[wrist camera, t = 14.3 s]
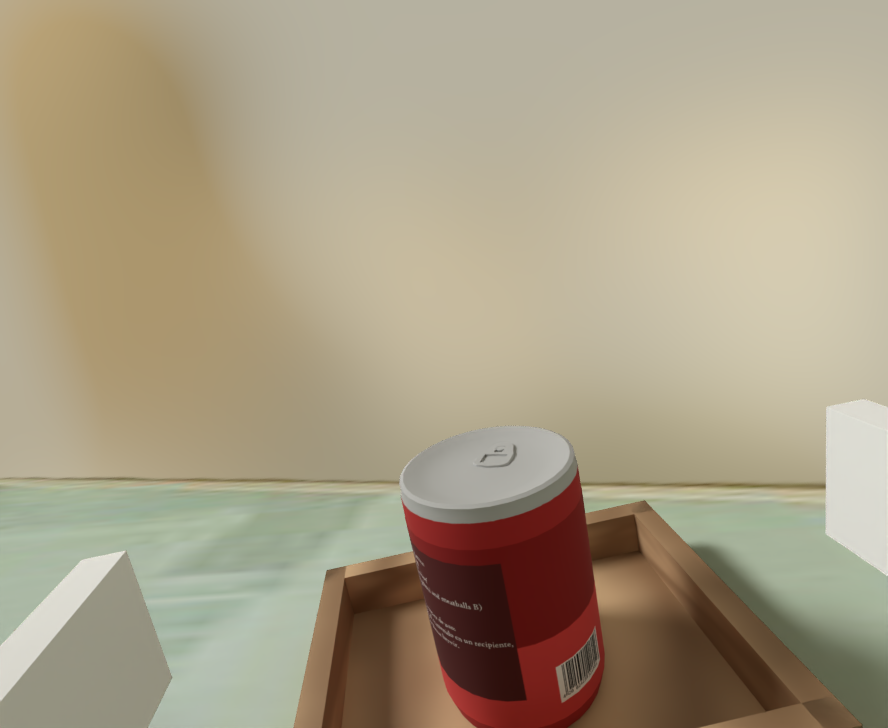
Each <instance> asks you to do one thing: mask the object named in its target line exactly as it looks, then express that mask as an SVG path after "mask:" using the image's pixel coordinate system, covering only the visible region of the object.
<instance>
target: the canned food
mask: <svg viewBox="0 0 888 728" xmlns="http://www.w3.org/2000/svg"><path fill="white" fill-rule="evenodd" d="M400 489H401V500H402V504H403V508H404V513H405V519H406V523H407V528H408V532H409V536H410V540H411V544H412V549H413V553H414V557H415V561H416V566H417V570H418V574H419V578H420V582H421V587H422V591H423V595H424V599H425V603H426V608H427V612H428V616H429V620H430V624H431V629H432V633H433V637H434V641H435V646H436V650H437V654H438V658H439V662H440V667H441V671H442V675H443V679H444V682H445V685H446V689H447V692H448V693H449V695H450V697H451V698H452V700H453V701H454V703H455V705H456V706H457V708H458V709H459V711H460V712H461V713H462V715H463V716H464V717H465V718H466V719H467V720H468V721H469V722H470V723H471V724H472V725H473V726H475V727H477V728H568V727H569V726H570V725H572V724H573V723H574V722H576V721H577V720H579V719H580V718H581V717H582V716H583V714H584V713H585V712H586V711H587V710H588V709H589V708H590V706H591V705H592V703H593V701H594V699H595V698H596V696H597V694H598V690H599V687H600V684H601V680H602V675H603V671H604V662H605V652H604V645H603V637H602V630H601V623H600V616H599V609H598V602H597V595H596V587H595V580H594V573H593V566H592V559H591V552H590V545H589V537H588V530H587V523H586V516H585V509H584V502H583V495H582V488H581V484H580V477H579V471H578V465H577V460H576V457H575V454H574V450H573V446H572V445H571V443H569V441H568V440H567V439H566V438H564V437H563V436H561V435H560V434H557V433H555V432H553V431H550V430H546V429H542V428H537V427H527V426H500V427H491V428H484V429H479V430H474V431H470V432H466V433H463V434H459V435H456V436H453V437H450V438H448V439H446V440H443V441H441V442H439V443H437V444H435V445H433V446H430V447H429V448H427V449H426V450H424V451H422V452H421V453H419V454H418V455H417V456H415V457H414V458H413V459H412V460H411V461H410V462H409V463H408V464H407V465H406V466H405V468H404V469H403V471H402V473H401V476H400Z"/></svg>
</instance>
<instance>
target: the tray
mask: <svg viewBox="0 0 888 728" xmlns="http://www.w3.org/2000/svg"><path fill="white" fill-rule="evenodd" d="M585 516H586V523H587V530H588V537H589V545H590V552H591V559H592V566H593V573H594V580H595V587H596V595H597V602H598V609H599V616H600V623H601V630H602V637H603V645H604V652H605V662H604V671H603V675H602V680H601V684H600V687H599V690H598V694H597V696H596V698H595V699H594V701H593V703H592V705H591V706H590V708H589V709H588V710H587V711H586V712H585V713H584V714H583V716H582V717H581V718H580V719H579V720H577V721H576V722H574V723H573V724H572V725H570V726H569V727H568V728H862V724H861V723H860V722H859V721H858V720H857V719H856V718H855V717H854V716H853V715H852V714H851V713H850V712H849V711H848V710H847V709H846V708H845V707H844V706H843V705H842V703H841V702H840V701H839V700H838V699H837V698H836V697H835V696H834V695H833V694H832V693H831V692H830V691H829V690H828V689H827V688H826V687H825V686H824V685H823V684H822V683H821V682H820V681H819V680H818V679H817V678H816V677H815V676H814V675H813V674H812V673H811V672H810V670H809V669H808V668H807V667H806V666H805V665H804V664H803V663H802V662H801V661H800V660H799V659H798V658H797V657H796V656H795V655H794V654H793V653H792V652H791V651H790V650H789V649H788V648H787V647H786V646H785V645H784V644H783V643H782V642H781V641H780V640H779V639H778V637H777V636H776V635H775V634H774V633H773V632H772V631H771V630H770V629H769V628H768V627H767V626H766V625H765V624H764V623H763V622H762V621H761V620H760V619H759V618H758V617H757V616H756V615H755V614H754V613H753V612H752V611H751V610H750V609H749V608H748V607H747V606H746V604H745V603H744V602H743V601H742V600H741V599H740V598H739V597H738V596H737V595H736V594H735V593H734V592H733V591H732V590H731V589H730V588H729V587H728V586H727V585H726V584H725V583H724V582H723V581H722V580H721V579H720V578H719V577H718V576H717V575H716V574H715V573H714V572H713V570H712V569H711V568H710V567H709V566H708V565H707V564H706V563H705V562H704V561H703V560H702V559H701V558H700V557H699V556H698V555H697V554H696V553H695V552H694V551H693V550H692V549H691V548H690V547H689V546H688V545H687V544H686V543H685V542H684V541H683V540H682V539H681V537H680V536H679V535H678V534H677V533H676V532H675V531H674V530H673V529H672V528H671V527H670V526H669V525H668V524H667V523H666V522H665V521H664V520H663V519H662V518H661V517H660V516H659V515H658V514H657V513H656V512H655V511H654V510H653V509H652V508H651V507H650V506H649V504H648V503H647V502H646V501H645V500H644V501H640V502H635V503H631V504H626V505H622V506H617V507H613V508H608V509H603V510H599V511H594V512H590V513H585ZM294 728H477V727H475V726H473V725H472V724H471V723H470V722H469V721H468V720H467V719H466V718H465V717H464V716H463V715H462V713H461V712H460V711H459V709H458V708H457V706H456V705H455V703H454V701H453V700H452V698H451V697H450V695H449V693H448V692H447V689H446V685H445V682H444V679H443V675H442V671H441V667H440V662H439V658H438V654H437V650H436V646H435V641H434V637H433V633H432V629H431V624H430V620H429V616H428V612H427V608H426V603H425V599H424V595H423V591H422V587H421V582H420V578H419V574H418V570H417V566H416V561H415V557H414V553H413V551H412V552H408V553H403V554H399V555H394V556H390V557H385V558H381V559H376V560H371V561H367V562H362V563H358V564H353V565H349V566H344V567H340V568H335V569H331V570H327V572H326V576H325V581H324V586H323V590H322V595H321V600H320V605H319V609H318V614H317V619H316V624H315V628H314V633H313V638H312V643H311V647H310V652H309V657H308V662H307V666H306V671H305V676H304V680H303V685H302V690H301V695H300V699H299V704H298V709H297V714H296V718H295V723H294Z"/></svg>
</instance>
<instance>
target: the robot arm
mask: <svg viewBox="0 0 888 728" xmlns="http://www.w3.org/2000/svg"><path fill="white" fill-rule="evenodd" d="M826 409H827V410H826V419H827V420H826V421H827V422H826V534H827V535H828V536H829V537H831V538H832V539H834V540H835V541H837V542H838V543H840V544H841V545H843V546H844V547H846V548H847V549H849V550H850V551H852V552H853V553H854V554H856V555H857V556H859V557H860V558H862V559H863V560H865V561H866V562H868V563H869V564H871V565H872V566H874V567H875V568H877V569H878V570H879V571H881V572H882V573H884V574H885V575H887V576H888V407H886V406H883V405H880V404H877V403H874V402H871V401H868V400H866V399H862V400H857V401H852V402H847V403H843V404H838V405H833V406H828V407H827V408H826ZM171 679H172V676H171V673H170V670H169V667H168V665H167V662H166V659H165V656H164V653H163V651H162V648H161V645H160V642H159V640H158V637H157V634H156V631H155V629H154V626H153V623H152V620H151V617H150V615H149V612H148V609H147V606H146V604H145V601H144V598H143V595H142V593H141V590H140V587H139V584H138V582H137V579H136V576H135V573H134V570H133V568H132V565H131V562H130V559H129V557H128V554H127V551H122V552H117V553H112V554H107V555H102V556H97V557H92V558H88V559H83V560H81V561H80V562H79V563H78V564H77V565H76V566H75V568H74V569H73V570H72V571H71V572H70V573H69V574H68V575H67V576H66V577H65V578H64V579H63V580H62V581H61V582H60V583H59V584H58V586H57V587H56V588H55V589H54V590H53V591H52V592H51V593H50V594H49V595H48V596H47V597H46V598H45V599H44V600H43V601H42V602H41V603H40V605H39V606H38V607H37V608H36V609H35V610H34V611H33V612H32V613H31V614H30V615H29V616H28V617H27V618H26V619H25V620H24V621H23V622H22V624H21V625H20V626H19V627H18V628H17V629H16V630H15V631H14V632H13V633H12V634H11V635H10V636H9V637H8V638H7V639H6V640H5V641H4V643H3V644H2V645H1V646H0V728H148V726H149V724H150V722H151V720H152V718H153V716H154V714H155V712H156V710H157V708H158V706H159V704H160V702H161V699H162V697H163V695H164V693H165V691H166V689H167V687H168V685H169V683H170V681H171Z"/></svg>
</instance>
